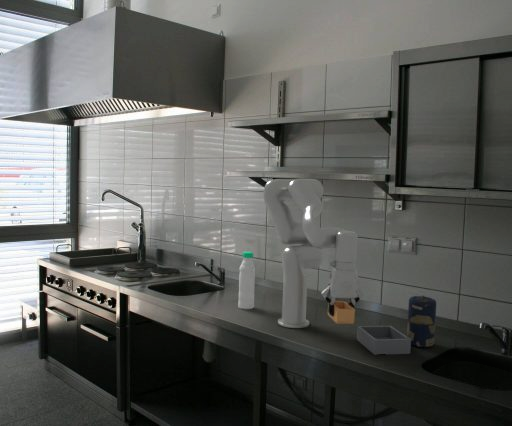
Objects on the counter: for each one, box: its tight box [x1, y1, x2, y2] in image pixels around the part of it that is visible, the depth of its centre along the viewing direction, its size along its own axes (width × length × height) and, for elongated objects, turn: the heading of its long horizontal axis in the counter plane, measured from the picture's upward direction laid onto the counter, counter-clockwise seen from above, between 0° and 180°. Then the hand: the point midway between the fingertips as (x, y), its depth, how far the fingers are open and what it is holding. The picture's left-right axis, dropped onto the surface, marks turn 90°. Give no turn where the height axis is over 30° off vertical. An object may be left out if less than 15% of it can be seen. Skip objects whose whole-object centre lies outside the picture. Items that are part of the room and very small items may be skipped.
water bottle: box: [237, 251, 256, 310], centre depth 228 cm, size 7×7×25 cm
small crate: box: [327, 300, 356, 324], centre depth 184 cm, size 10×6×5 cm, turn 11°
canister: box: [406, 295, 437, 348], centre depth 186 cm, size 10×10×18 cm
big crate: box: [356, 325, 412, 356], centre depth 182 cm, size 16×13×5 cm
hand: (340, 314), depth 184 cm, fingers closed on small crate, 6 cm apart
